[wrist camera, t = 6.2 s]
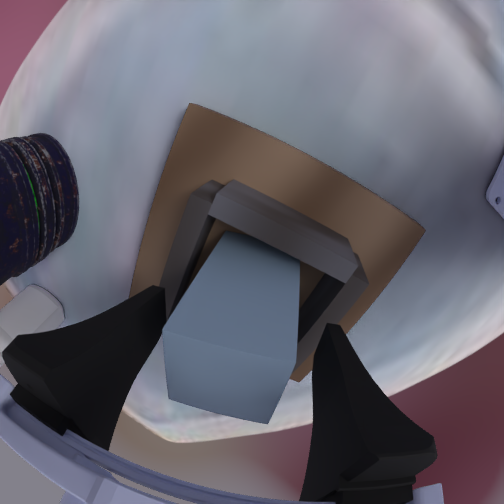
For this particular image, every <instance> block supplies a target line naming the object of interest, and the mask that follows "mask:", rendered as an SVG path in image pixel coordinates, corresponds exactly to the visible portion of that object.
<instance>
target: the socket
mask: <svg viewBox="0 0 504 504" xmlns="http://www.w3.org/2000/svg"><path fill="white" fill-rule="evenodd" d="M226 231H231V232H235V233H240V234H245V235H249V236H253V237H255V238H257V239H259V240H261V241H263V242H265V243H267V244H269V245H271V246H273V247H275V248H277V249H279V250H281V251H283V252H285V253H287V254H289V255H291V256H293V257H295V258H297V259H299V260H300V286H299V316H298V338H297V356H296V364H295V366H294V369H293V371H292V373H291V376H290V378H289V379H292V380H294V381H297V382H300V381H301V380H302V379H303V378H304V377H305V376H306V375H307V374H308V373H309V372H310V371H311V370H312V369H313V358H314V353H315V351H316V348H317V346H318V343H319V341H320V339H321V336H322V334H323V331H324V329H325V326H326V324H327V323H332V324H338V325H341V327H342V329H343V331H344V332H345V334H347V333H348V331H349V330H350V329H351V328H352V327H353V326H354V325H355V323H356V322H357V321H358V320H359V319H360V318H361V317H362V315H363V314H364V313H365V312H366V311H367V309H368V308H369V307H370V306H371V305H372V303H373V302H374V301H375V300H376V298H377V297H378V296H379V295H380V293H381V292H382V291H383V290H384V288H385V287H386V286H387V284H388V283H389V282H390V281H391V279H392V278H393V277H394V275H395V274H396V273H397V271H398V270H399V269H400V267H401V266H402V264H403V263H404V262H405V260H406V259H407V257H408V256H409V255H410V253H411V252H412V250H413V249H414V247H415V246H416V245H417V243H418V242H419V240H420V239H421V237H422V236H423V234H424V233H425V231H426V230H425V229H424V228H423V227H422V226H421V225H420V224H419V223H417V222H416V221H415V220H413V219H412V218H410V217H409V216H408V215H406V214H405V213H403V212H402V211H400V210H399V209H398V208H396V207H395V206H393V205H392V204H390V203H389V202H387V201H386V200H384V199H383V198H381V197H380V196H378V195H376V194H375V193H373V192H372V191H370V190H369V189H367V188H365V187H364V186H362V185H361V184H359V183H357V182H356V181H354V180H352V179H351V178H349V177H347V176H346V175H344V174H342V173H340V172H339V171H337V170H335V169H334V168H332V167H330V166H328V165H326V164H325V163H323V162H321V161H319V160H317V159H316V158H314V157H312V156H310V155H308V154H306V153H304V152H302V151H300V150H299V149H297V148H295V147H293V146H291V145H289V144H287V143H285V142H283V141H281V140H279V139H277V138H274V137H272V136H270V135H268V134H266V133H264V132H262V131H260V130H257V129H255V128H253V127H251V126H249V125H246V124H244V123H242V122H239V121H237V120H235V119H232V118H230V117H228V116H225V115H223V114H220V113H218V112H215V111H213V110H210V109H208V108H205V107H203V106H200V105H197V104H192V103H189V105H188V108H187V110H186V112H185V115H184V117H183V120H182V122H181V125H180V127H179V130H178V132H177V135H176V137H175V140H174V142H173V145H172V148H171V150H170V153H169V156H168V159H167V161H166V164H165V167H164V170H163V173H162V176H161V179H160V182H159V185H158V188H157V191H156V194H155V197H154V201H153V204H152V207H151V210H150V214H149V217H148V221H147V224H146V228H145V231H144V235H143V239H142V243H141V247H140V250H139V254H138V259H137V263H136V267H135V271H134V276H133V280H132V285H131V290H130V294H129V298H131V297H133V296H134V295H136V294H138V293H139V292H141V291H143V290H145V289H146V288H148V287H150V286H152V285H155V286H159V287H162V288H165V301H166V319H167V321H168V319H169V318H170V316H171V315H172V313H173V311H174V310H175V308H176V307H177V305H178V304H179V302H180V300H181V299H182V297H183V296H184V294H185V293H186V291H187V289H188V288H189V286H190V285H191V283H192V282H193V280H194V279H195V277H196V275H197V274H198V272H199V271H200V269H201V268H202V266H203V265H204V263H205V262H206V260H207V259H208V257H209V256H210V254H211V253H212V251H213V249H214V248H215V246H216V245H217V243H218V242H219V240H220V239H221V237H222V236H223V235H224V233H225V232H226Z"/></svg>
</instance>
